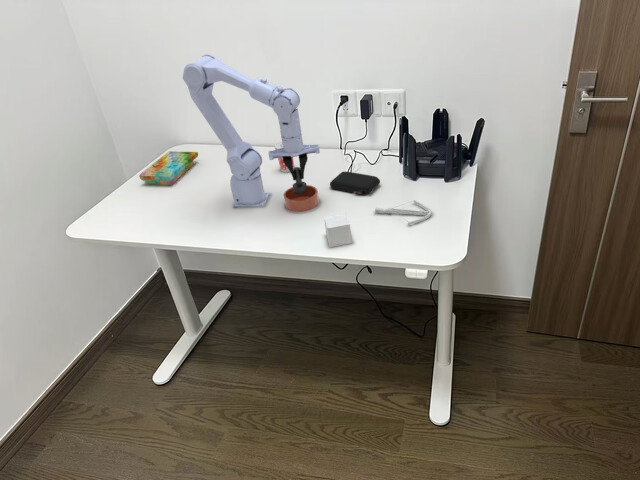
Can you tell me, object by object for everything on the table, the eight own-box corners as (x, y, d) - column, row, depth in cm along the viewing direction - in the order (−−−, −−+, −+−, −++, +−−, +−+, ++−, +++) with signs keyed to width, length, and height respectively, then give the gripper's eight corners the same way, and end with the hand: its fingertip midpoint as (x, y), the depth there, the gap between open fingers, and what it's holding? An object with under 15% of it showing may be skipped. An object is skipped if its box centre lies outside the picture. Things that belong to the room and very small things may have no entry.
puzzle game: (138, 173, 183) (168, 148, 198) (142, 185, 186) (171, 160, 201) (169, 174, 180) (197, 149, 196) (172, 187, 183) (200, 161, 198)
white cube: (326, 236, 150) (323, 217, 146) (347, 232, 151) (345, 213, 147) (330, 247, 145) (327, 228, 142) (351, 243, 146) (349, 224, 142)
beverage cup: (286, 164, 190) (280, 126, 182) (300, 167, 187) (294, 128, 179) (275, 171, 187) (267, 132, 178) (288, 174, 183) (281, 135, 175)
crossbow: (432, 206, 160) (433, 200, 159) (428, 229, 150) (428, 222, 149) (379, 201, 163) (379, 195, 161) (371, 223, 153) (371, 217, 151)
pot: (282, 213, 162) (280, 201, 160) (289, 196, 170) (287, 185, 168) (316, 212, 161) (314, 200, 158) (321, 196, 169) (320, 184, 167)
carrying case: (326, 191, 171) (367, 199, 165) (324, 183, 169) (366, 190, 163) (342, 177, 179) (382, 184, 172) (341, 168, 177) (382, 175, 170)
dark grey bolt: (292, 194, 161) (288, 171, 157) (295, 188, 165) (291, 165, 160) (306, 194, 161) (302, 171, 156) (308, 187, 164) (305, 165, 160)
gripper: (266, 143, 148) (274, 187, 156) (318, 136, 150) (324, 180, 158) (265, 134, 154) (273, 177, 162) (315, 127, 155) (321, 170, 163)
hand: (298, 178), depth 160 cm, fingers closed on dark grey bolt, 2 cm apart
